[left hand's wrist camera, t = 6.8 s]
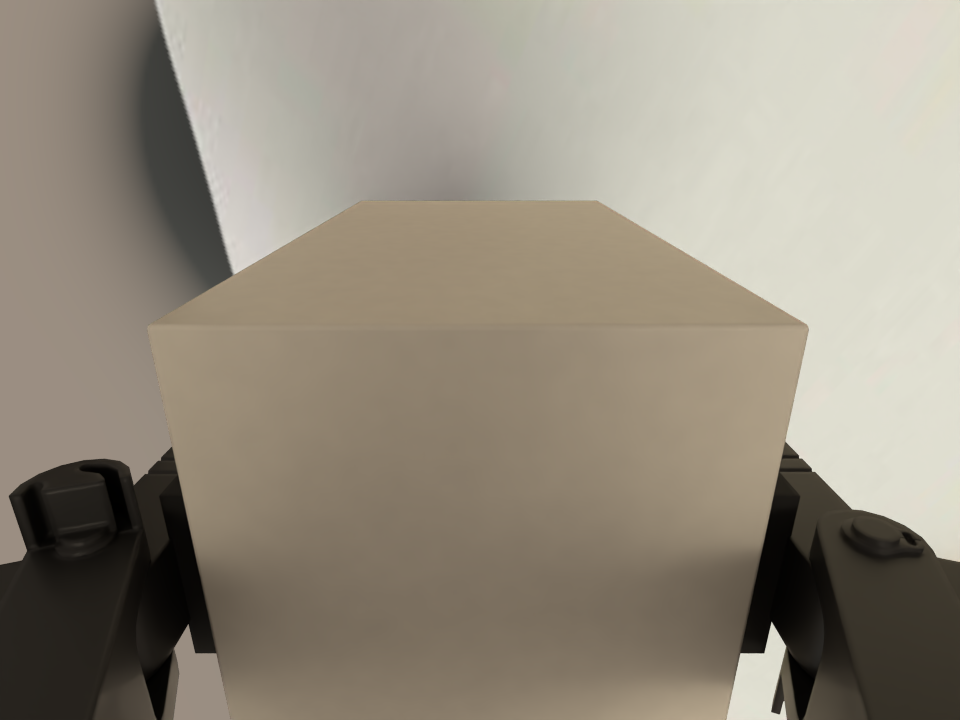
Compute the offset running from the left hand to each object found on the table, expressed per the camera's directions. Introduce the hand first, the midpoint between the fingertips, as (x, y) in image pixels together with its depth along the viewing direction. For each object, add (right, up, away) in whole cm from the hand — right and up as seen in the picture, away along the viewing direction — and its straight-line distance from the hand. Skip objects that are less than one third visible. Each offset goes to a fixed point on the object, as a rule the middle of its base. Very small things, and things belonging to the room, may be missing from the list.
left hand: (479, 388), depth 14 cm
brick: (0, +2, +4) cm, 4 cm away
